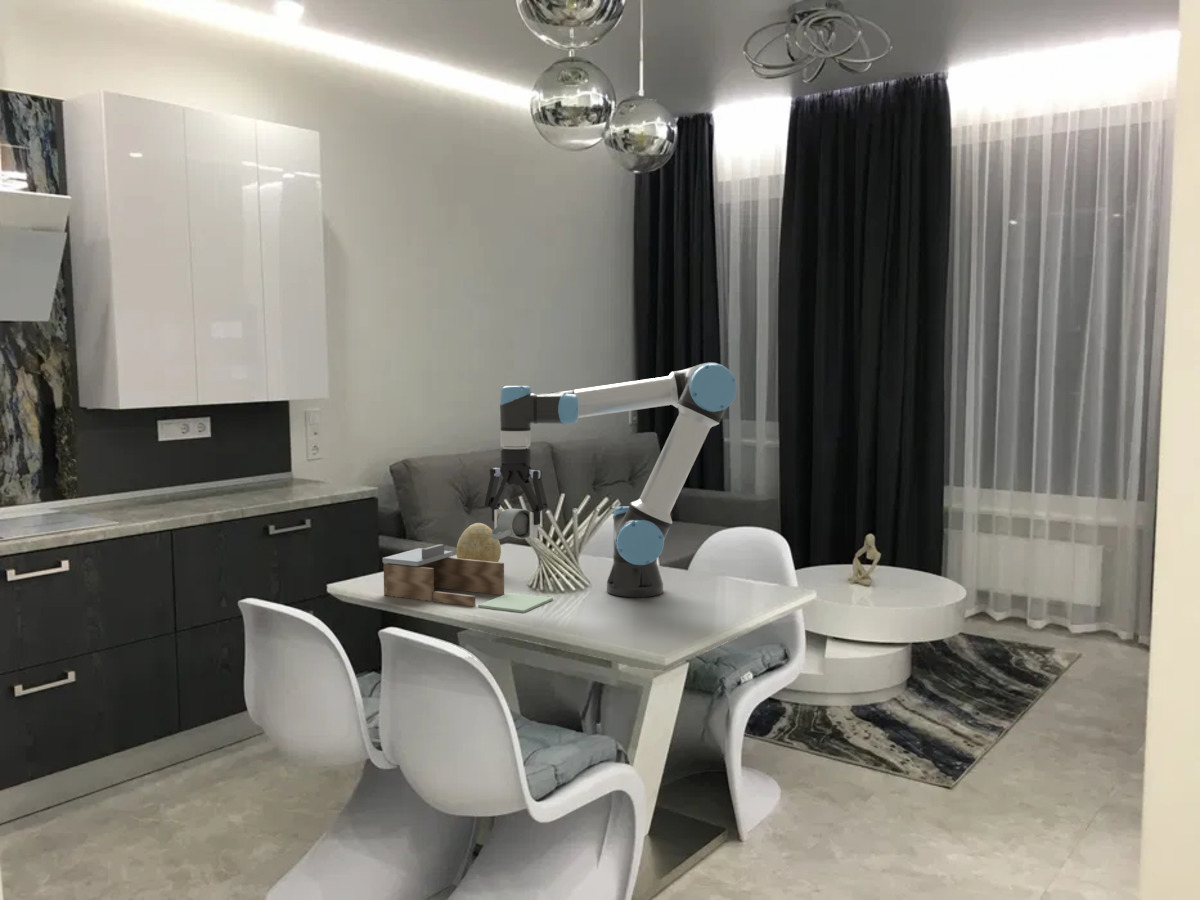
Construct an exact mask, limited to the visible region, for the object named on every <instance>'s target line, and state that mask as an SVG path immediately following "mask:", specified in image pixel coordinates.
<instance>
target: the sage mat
mask: <svg viewBox="0 0 1200 900" xmlns="http://www.w3.org/2000/svg"><path fill="white" fill-rule="evenodd" d="M553 600H554V599H553V597H549V596H548V597H547V596H541V595H534V594H533V595H532V594H523V593H516V592H515V593H514V592H506V593H504V595H499V596H497V597H495V598H493V599H489V600H487V601H485V602H483V603H479V604H478V605H477V606H478V608H483V609H490V610H491V609H492V610H499V611H505V612H506V611H507V612H515V613H521V614H522V613H523V614H524V613H526V612H529V611H531V610H534V609H535V608H538V607H540V606H542V605H545V604H547V603H549V602H552V601H553Z"/></svg>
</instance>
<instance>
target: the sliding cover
mask: <svg viewBox="0 0 1200 900" xmlns="http://www.w3.org/2000/svg"><path fill="white" fill-rule="evenodd" d="M453 554H454V553H453V551H452V550H445V544H442V543H438V544H436V545H432V546H428V547H425V548H421V547H418V548H413V549H411V550H407V551H403V552H400V553H396V554H392V555H389V556H385V557H382V563H383V564H384V563H391V564H401V565H410V566H420V565H424V564H427V563H430V562H434V561H437V560H440V559H444V558H447V557H453Z"/></svg>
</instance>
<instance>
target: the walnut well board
mask: <svg viewBox="0 0 1200 900" xmlns="http://www.w3.org/2000/svg"><path fill="white" fill-rule="evenodd" d="M435 588H439V589H448V590H454V591H455V590H457V591H462V592H473V593H482V594H490V595H496V596H497V595H499V596H502V595H504V594H505V563H504V562H500V561H498V562H490V561H480V560H471V559H461V558H457V557H452V556H450V557H447V558H444V559H440V560H437V561H434V562H430V563H427V564H424V565H420V566H410V565H401V564H391V563H383V596H385V595H387V597H393V596H395V597H394V598H401V597H404V598H403V599H409V598H411V599H410V600H417V599H420V600H419V601H425V600H428V601H427V602H433V601H435V602H434V603H441V602H442V604H451V605H457V606H458V605H459V606H466V607H476V595H472V594H471V595H470V594H463V593H454V592H445V591H438V590H435Z"/></svg>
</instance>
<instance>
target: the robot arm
mask: <svg viewBox="0 0 1200 900" xmlns="http://www.w3.org/2000/svg"><path fill="white" fill-rule="evenodd" d="M737 390H738V385H737V380H736V378H735V376H734V373H733V372H732V371H731V370H730V369H729V368H727V367H726V366H724V365H723V364H720V363H717V362H705V363H700V364H697V365H695V366H692V367H688V368H684V369H681V370H675V371H671V372H670V373H669V375H666V376H661V377H655V378H654V377H653V378H645V379H640V380H632V381H624V382H619V383H611V384H610V383H609V384H605V385H598V386H590V387H583V388H578V389H572V390H571V389H570V390H569V389H568V390H564V391H553V392H549V393H532V391H531V386H529V385H504V386H502V388H500V399H499V400H500V403H499V407H500V408H499V409H500V410H499V412H500V416H499V417H500V418H499V419H500V447H502V448H501V449H500V462H501V466H500V467H492V468H490V469H489V476H490V479H489V483H488V487H487V493H486V496H485V500H484V505H485V506H486V507H488V508H490V509H491V521H492V522H494V523H493V524H494V528H493V530H494V529H495V528H496V527H498V525H497V520H498V517H499V515H500V513H501V512H502V511H503V508H502V506H501V504H502V502H503V500H504V498H505V497H506V494H507V492H508V490H509V487H511V486H512V485H516V486H519V487H520V488H521V489H522V491H523V493H524V495H525V497H526V499H527V502H528V503H529V506H530V508H531V511H530V536H529V539H531V540H532V539H536V538H538V537H539V536H538V534H539V533H538V532H539V531H538V527H539V525H541V514H542V513H541V512H542V511H544V510H547V509H548V507H549V506H548V502H547V498H546V493H545V489H544V485H543V480H542V477H543V471H542V469H538V470H537V469H536V470H535V469H532V468H531V462H532V458H531V457H532V453H531V451H532V450H531V447H530V446H531V442H532V441H531V439H532V438H531V426H532V425H531V424H535V425H536V424H541V425H542V424H543V425H544V424H545V425H546V424H547V425H550V424H551V425H552V424H553V425H561V424H562V425H568V424H569V425H571V424H576V423H577V422H578V421H579V418H587V417H594V416H595V417H596V416H601V415H608V414H615V413H622V412H630V411H637V410H645V409H650V408H651V409H652V408H658V407H665V406H670V405H671V406H673V407H675V408H676V409H678V416H677V417H676V419H675V422H674V423H673V426H672V428H671V431H670V432H669V435H668V437H667V439H666V440H665V443H664V445H663V448H662V450H661V452H660V454H659V456H658V457H657V460H656V462H655V465H654V466H653V469H652V471H651V472H650V474H649V477H648V479H647V481H646V484H645V486H644V488H643V490H642V492H641V494H640V497H639V498H638V499H637V500H633V501H631V502H630V503H629V506H628V505H627V506H624V505H623V506H615V507H614V509H613V515H612V519H613V543H612V545H613V547H612V548H613V552H612V555H613V559H612V560H613V562H612V566H611V568H610V572H609V574H608V578H607V581H606V592H607V593H608V594H610V595H614V596H618V597H625V598H645V597H646V598H647V597H648V598H649V597H655V596H658V595H661V594H662V593H663V592H664V582H663V579H662V578H663V577H662V576H661V572H660V570H659V566H658V559H659V557H660V556H661V554H662V552H663V550H664V546H665V539H666V537H667V535H668V532H669V531H670V529H671V527H672V524H673V519H672V515H671V512H672V510H673V508H674V507H675V504H676V501H677V500H678V497H679V495H680V493H681V491H682V488H683V487H684V485H685V483H686V481H687V478H688V476H689V474H690V472H691V470H692V467H693V466H694V464H695V461H696V459H697V457H698V455H699V453H700V451H701V449H702V447H703V444H704V443H705V441H706V438H707V436H708V434H709V432H710V429H712V427H716V426H717V425H720V422H721V421H722V419H723V417H724V414H725V412H726V410H727V409H728V407H730V405H732V403H734V400H735V398H736V396H737ZM501 476H502V477H503V478H502V480H501V482H500V477H501ZM529 477H531V479H532V483H531V481H530V478H529ZM499 482H500V485H499ZM532 484H533V487H532ZM498 486H499V488H498ZM533 488H534V489H533ZM499 533H501V532H499ZM499 533H497V534H499Z"/></svg>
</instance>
